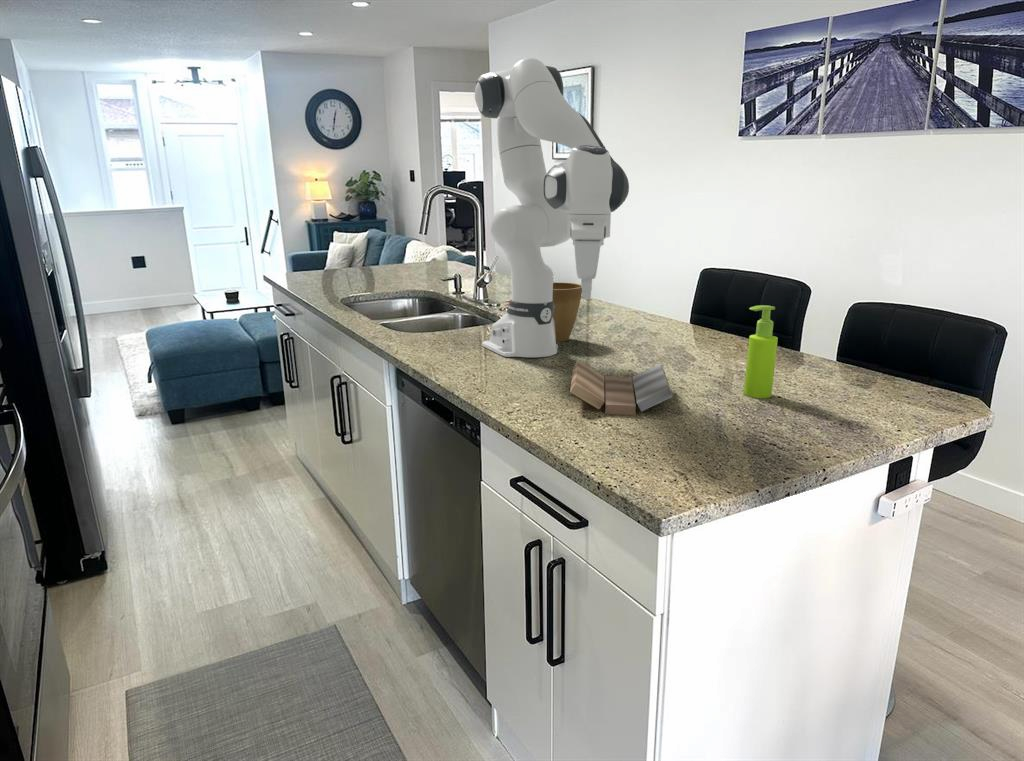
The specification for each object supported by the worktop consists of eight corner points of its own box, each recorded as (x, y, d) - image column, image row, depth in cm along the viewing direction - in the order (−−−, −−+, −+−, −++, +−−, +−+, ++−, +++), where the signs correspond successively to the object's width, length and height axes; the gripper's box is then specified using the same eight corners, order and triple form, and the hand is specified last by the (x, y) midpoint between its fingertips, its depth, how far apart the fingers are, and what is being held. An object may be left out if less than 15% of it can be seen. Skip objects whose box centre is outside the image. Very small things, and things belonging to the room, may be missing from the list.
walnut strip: (604, 384, 168) (604, 375, 168) (630, 385, 168) (631, 376, 167) (605, 413, 147) (605, 404, 147) (635, 415, 146) (635, 405, 146)
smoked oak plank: (573, 367, 167) (577, 360, 166) (599, 382, 167) (603, 375, 167) (570, 391, 148) (575, 383, 147) (599, 409, 148) (604, 401, 147)
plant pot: (580, 335, 220) (582, 282, 215) (580, 346, 205) (582, 289, 201) (531, 333, 221) (532, 280, 217) (527, 344, 207) (529, 288, 202)
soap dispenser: (734, 392, 163) (743, 304, 158) (759, 389, 165) (769, 302, 160) (751, 399, 158) (761, 309, 152) (777, 397, 160) (787, 307, 155)
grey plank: (636, 384, 166) (632, 377, 166) (664, 370, 165) (660, 363, 164) (641, 411, 147) (636, 403, 147) (673, 396, 146) (668, 388, 145)
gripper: (575, 225, 159) (573, 288, 163) (571, 231, 139) (569, 302, 143) (604, 225, 158) (602, 289, 162) (604, 231, 139) (601, 303, 142)
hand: (586, 295), depth 152 cm, fingers open, 8 cm apart
